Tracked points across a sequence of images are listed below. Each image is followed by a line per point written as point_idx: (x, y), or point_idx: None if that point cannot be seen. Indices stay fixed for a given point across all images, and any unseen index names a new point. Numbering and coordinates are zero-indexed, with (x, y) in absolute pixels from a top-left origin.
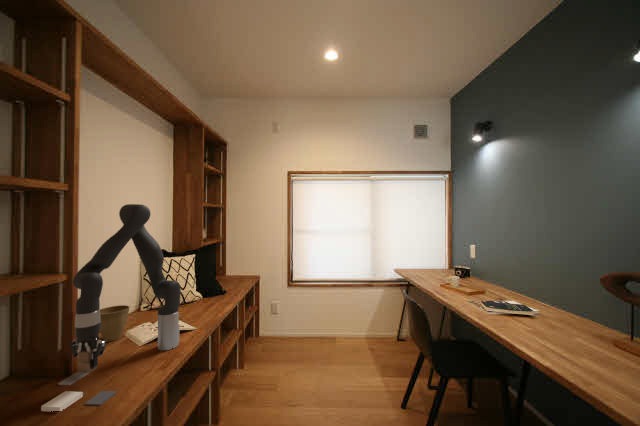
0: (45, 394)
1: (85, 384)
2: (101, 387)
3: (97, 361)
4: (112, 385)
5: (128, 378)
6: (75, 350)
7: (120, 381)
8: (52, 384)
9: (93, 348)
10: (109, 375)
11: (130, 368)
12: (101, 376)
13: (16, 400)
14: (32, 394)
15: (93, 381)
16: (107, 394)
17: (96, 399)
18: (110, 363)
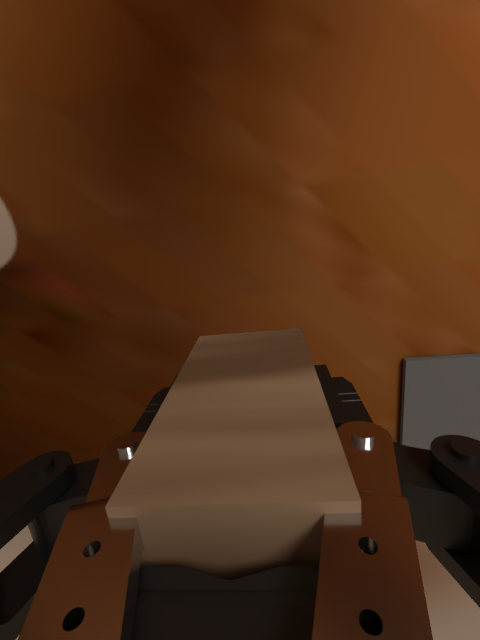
0: (90, 416)
1: (212, 311)
2: (354, 321)
3: (359, 400)
4: (414, 291)
5: (472, 194)
6: (9, 619)
7: (436, 241)
8: (9, 341)
9: (301, 539)
10: (276, 187)
11: (370, 45)
12: (226, 211)
13: (12, 466)
14: (24, 424)
15: (231, 274)
16: (474, 386)
17: (442, 429)
18: (95, 5)
